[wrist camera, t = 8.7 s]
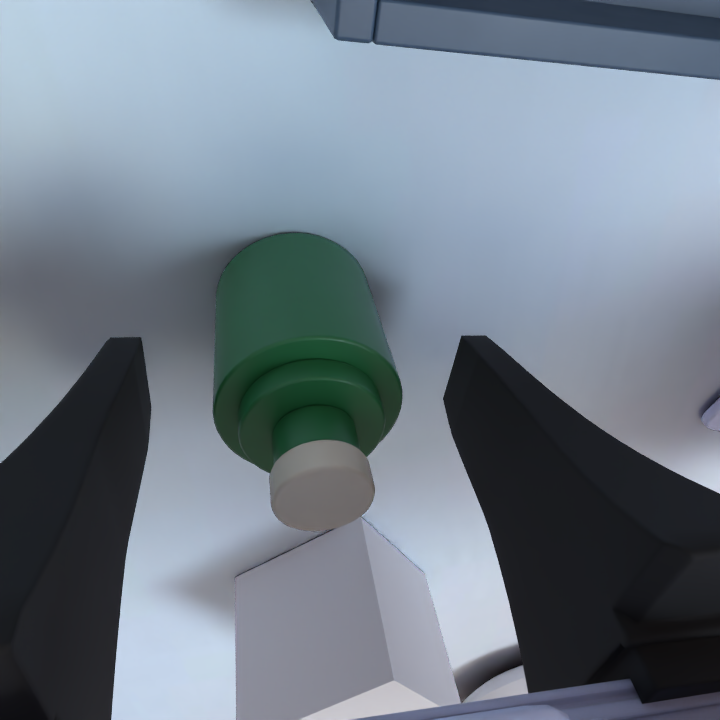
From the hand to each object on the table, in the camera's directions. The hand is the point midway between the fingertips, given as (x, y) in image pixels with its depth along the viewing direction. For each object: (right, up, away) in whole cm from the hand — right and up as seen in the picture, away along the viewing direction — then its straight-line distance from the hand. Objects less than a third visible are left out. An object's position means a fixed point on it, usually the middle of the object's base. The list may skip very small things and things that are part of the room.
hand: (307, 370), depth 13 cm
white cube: (0, -9, +12) cm, 15 cm away
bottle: (-1, +2, +2) cm, 3 cm away
